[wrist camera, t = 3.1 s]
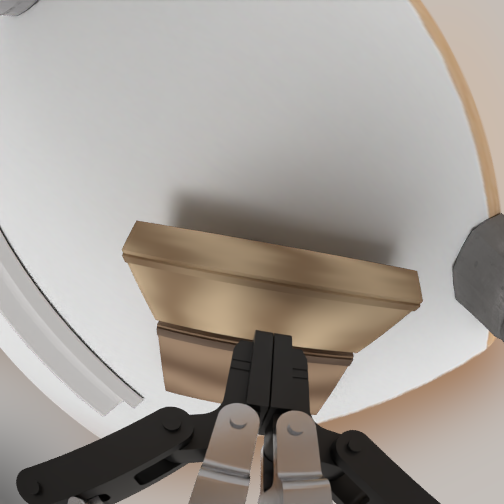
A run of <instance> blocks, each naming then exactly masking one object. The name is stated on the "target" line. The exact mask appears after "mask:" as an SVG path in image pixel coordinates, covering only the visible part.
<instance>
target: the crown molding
mask: <svg viewBox="0 0 504 504" xmlns="http://www.w3.org/2000/svg"><path fill="white" fill-rule="evenodd" d="M0 313H1V314H2V315H3V317H4V318H5V319H6V321H7V322H8V323H9V325H10V326H11V327H12V328H13V330H14V331H15V332H16V333H17V335H18V336H19V337H20V338H21V339H22V341H23V342H24V343H25V344H26V345H27V346H28V347H29V349H30V350H31V351H32V352H33V353H34V354H35V355H36V356H37V357H38V358H39V360H40V361H41V362H42V363H43V364H44V365H45V366H46V367H47V368H48V369H49V370H50V371H51V372H52V373H53V374H54V375H55V376H56V377H57V378H58V379H59V380H60V381H61V382H62V383H64V384H65V385H66V386H67V387H68V388H69V389H70V390H71V391H72V392H73V393H75V394H76V395H77V396H78V397H79V398H80V399H82V400H83V401H84V402H85V403H86V404H88V405H89V406H90V407H91V408H92V409H94V410H95V411H96V412H97V413H99V414H100V415H101V416H106V415H107V414H108V413H109V412H110V411H111V410H113V409H114V408H115V407H116V406H117V405H118V404H120V403H121V402H123V401H125V402H126V403H127V404H129V405H130V406H131V407H133V408H135V407H136V406H137V405H139V404H140V403H141V402H142V401H143V398H141V397H140V396H139V395H138V394H137V393H135V392H134V391H133V390H132V389H131V388H130V387H128V386H127V385H126V384H125V383H124V382H123V381H122V380H120V379H119V378H118V377H117V376H116V375H115V374H114V373H113V372H112V371H111V370H110V369H109V368H108V367H106V366H105V365H104V364H103V363H102V362H101V361H100V360H99V359H98V358H97V357H96V356H95V355H94V354H93V353H92V352H91V351H90V350H89V349H88V348H87V347H86V345H85V344H84V343H83V342H82V341H81V340H80V339H79V338H78V337H77V336H76V335H75V334H74V332H73V331H72V330H71V329H70V328H69V327H68V326H67V324H66V323H65V322H64V321H63V320H62V319H61V317H60V316H59V315H58V314H57V313H56V311H55V310H54V309H53V308H52V306H51V305H50V304H49V303H48V301H47V300H46V299H45V297H44V296H43V295H42V293H41V292H40V291H39V289H38V288H37V287H36V285H35V284H34V283H33V281H32V280H31V278H30V277H29V275H28V274H27V273H26V271H25V270H24V268H23V267H22V265H21V264H20V262H19V261H18V259H17V257H16V256H15V254H14V253H13V251H12V249H11V248H10V246H9V244H8V243H7V241H6V239H5V238H4V236H3V234H2V232H1V230H0Z"/></svg>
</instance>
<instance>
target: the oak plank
mask: <svg viewBox="0 0 504 504" xmlns="http://www.w3.org/2000/svg"><path fill="white" fill-rule="evenodd" d="M122 251H123V255H122V256H123V258H124V260H125V262H127V263H128V265H129V267H130V269H131V271H132V273H133V276H134V278H135V280H136V282H137V284H138V286H139V288H140V290H141V292H142V294H143V296H144V298H145V300H146V302H147V304H148V306H149V308H150V310H151V312H152V314H153V316H154V318H155V319H156V320H159V321H163V322H167V323H171V324H175V325H180V326H184V327H188V328H193V329H198V330H202V331H207V332H212V333H217V334H222V335H227V336H233V337H238V338H244V339H250V340H253V338H254V334H255V330H260V331H266V332H272V333H273V334H274V333H278V334H285V335H291V336H292V346H297V347H304V348H313V349H322V350H331V351H342V352H353V353H358V352H359V351H361V350H362V349H363V348H365V347H366V346H368V345H369V344H370V343H372V342H373V341H374V340H376V339H377V338H378V337H380V336H381V335H382V334H384V333H385V332H386V331H388V330H389V329H390V328H391V327H393V326H394V325H395V324H397V323H398V322H399V321H400V320H401V319H403V318H404V317H405V316H406V315H408V314H409V313H410V312H411V311H415V310H417V309H418V308H419V307H420V303H422V302H423V299H422V293H421V288H420V283H419V278H418V273H417V271H415V270H410V269H405V268H400V267H394V266H389V265H384V264H379V263H374V262H368V261H363V260H358V259H352V258H347V257H342V256H336V255H331V254H326V253H320V252H315V251H309V250H304V249H298V248H293V247H287V246H282V245H276V244H270V243H265V242H259V241H254V240H248V239H242V238H236V237H231V236H225V235H219V234H213V233H207V232H202V231H196V230H190V229H184V228H178V227H172V226H166V225H160V224H154V223H148V222H142V221H136V223H135V224H134V226H133V228H132V230H131V232H130V234H129V236H128V238H127V240H126V242H125V244H124V246H123V248H122Z"/></svg>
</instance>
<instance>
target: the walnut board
mask: <svg viewBox="0 0 504 504" xmlns="http://www.w3.org/2000/svg"><path fill="white" fill-rule="evenodd" d="M157 335H158V337H159V346H160V354H161V362H162V370H163V377H164V383H165V390H166V391H168V392H172V393H176V394H180V395H184V396H188V397H192V398H197V399H201V400H206V401H211V402H216V403H221V404H222V402H223V399H224V394H225V389H226V384H227V379H228V374H229V369H230V365H231V360H232V355H233V350H234V347H235V346H236V345H237V344H238V343H239V341H240V340H244V341H250V342H253V340H250V339H244V338H238V337H233V336H227V335H222V334H217V333H212V332H207V331H202V330H198V329H193V328H188V327H184V326H180V325H175V324H171V323H167V322H163V321H159V322H158V324H157ZM292 348H294V349H301V350H302V351H303V353H304V354H305V356H306V358H307V362H308V381H309V399H310V413H311V415H316V414H317V413H318V412H319V410H320V409H321V407H322V406H323V404H324V403H325V401H326V400H327V398H328V397H329V395H330V394H331V392H332V391H333V389H334V388H335V386H336V385H337V383H338V382H339V380H340V378H341V377H342V375H343V374H344V372H345V370H346V369H347V367H348V366H350V364H351V363H352V361H353V352H342V351H331V350H322V349H313V348H304V347H297V346H292Z"/></svg>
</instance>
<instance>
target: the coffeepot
mask: <svg viewBox="0 0 504 504" xmlns="http://www.w3.org/2000/svg"><path fill="white" fill-rule="evenodd" d="M453 284H454V289H455V297H456V300H457V301H458V302H459V303H461V304H462V305H463V306H464V307H465V308H466V309H467V310H468V311H469V312H470V313H471V314H472V315H474V316H475V317H476V318H477V319H478V320H479V321H480V322H481V323H482V324H483V325H484V326H485V327H486V328H487V329H488V330H489V331H490V332H491V333H492V334H493V335H494V336H495V337H497V338H499V339H501V340H502V341H503V342H504V215H503V214H502V213H501V214H499V215H497V216H494V217H492V218H489V219H487V220H485V221H484V222H483V223H481V224H480V225H479V226H478V227H477V228H476V229H474V230H473V231H472V232H471V234H470V235H469V237H468V238H467V239H466V241H465V243H464V245H463V246H462V248H461V250H460V252H459V255H458V257H457V260H456V263H455V266H454V268H453Z"/></svg>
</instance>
